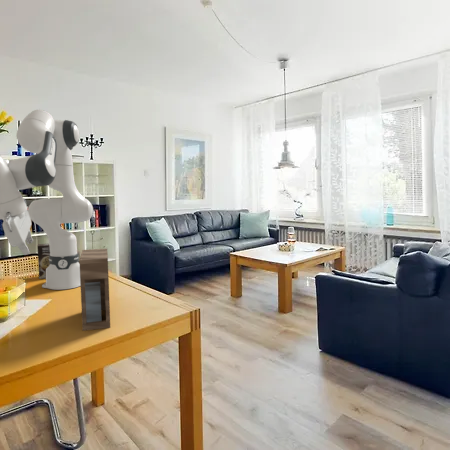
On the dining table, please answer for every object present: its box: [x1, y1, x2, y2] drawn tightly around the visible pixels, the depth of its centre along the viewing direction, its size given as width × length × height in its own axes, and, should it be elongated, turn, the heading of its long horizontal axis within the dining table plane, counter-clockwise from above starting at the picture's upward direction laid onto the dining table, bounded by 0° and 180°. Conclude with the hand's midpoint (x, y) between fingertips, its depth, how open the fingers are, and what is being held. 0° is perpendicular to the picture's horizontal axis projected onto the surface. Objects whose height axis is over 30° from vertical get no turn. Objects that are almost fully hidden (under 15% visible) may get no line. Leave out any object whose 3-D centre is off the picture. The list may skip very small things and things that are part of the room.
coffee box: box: [37, 243, 50, 280], centre depth 177 cm, size 9×6×16 cm
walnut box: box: [79, 248, 111, 332], centre depth 121 cm, size 18×8×22 cm, turn 18°
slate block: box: [85, 282, 103, 322], centre depth 121 cm, size 5×5×12 cm
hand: (28, 248), depth 116 cm, fingers open, 8 cm apart
